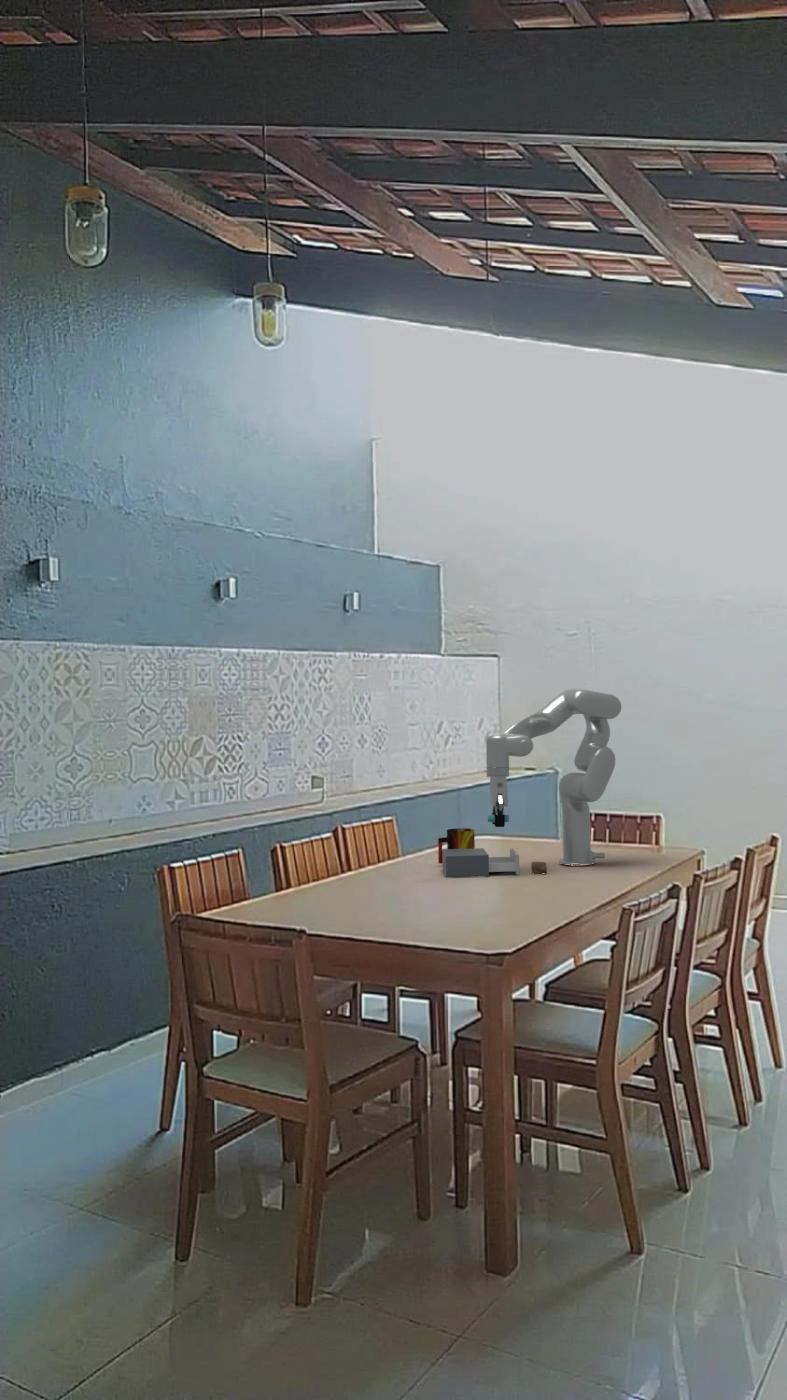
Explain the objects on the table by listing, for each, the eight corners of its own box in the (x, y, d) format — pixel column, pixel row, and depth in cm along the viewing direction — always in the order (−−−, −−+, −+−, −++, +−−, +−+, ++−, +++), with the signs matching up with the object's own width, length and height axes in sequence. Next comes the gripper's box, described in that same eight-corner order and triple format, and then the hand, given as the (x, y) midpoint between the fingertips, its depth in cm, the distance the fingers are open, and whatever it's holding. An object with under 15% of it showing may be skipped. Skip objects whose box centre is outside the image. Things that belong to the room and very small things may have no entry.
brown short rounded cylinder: (545, 872, 386) (545, 861, 386) (547, 874, 381) (547, 863, 381) (530, 872, 386) (530, 862, 386) (532, 874, 381) (532, 864, 381)
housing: (483, 868, 396) (483, 848, 396) (489, 876, 380) (488, 855, 379) (442, 869, 396) (442, 849, 396) (446, 877, 379) (445, 856, 379)
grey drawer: (513, 867, 396) (512, 848, 396) (519, 874, 381) (518, 854, 381) (474, 868, 395) (473, 849, 395) (478, 875, 380) (478, 855, 380)
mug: (438, 866, 403) (437, 832, 403) (454, 861, 416) (453, 827, 416) (463, 868, 399) (462, 833, 399) (479, 862, 411) (478, 828, 411)
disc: (507, 820, 391) (507, 814, 391) (510, 822, 384) (510, 816, 384) (486, 820, 391) (486, 814, 391) (489, 822, 384) (488, 816, 384)
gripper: (512, 773, 379) (513, 828, 379) (505, 770, 397) (506, 822, 397) (489, 774, 379) (490, 828, 379) (483, 770, 396) (484, 822, 396)
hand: (498, 825), depth 388 cm, fingers closed on disc, 7 cm apart
